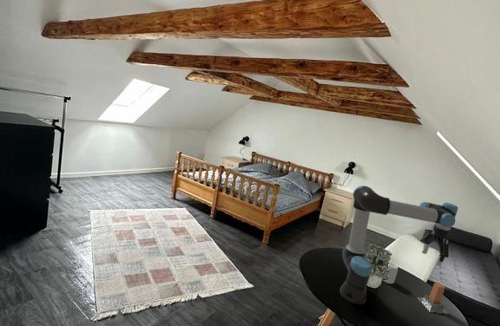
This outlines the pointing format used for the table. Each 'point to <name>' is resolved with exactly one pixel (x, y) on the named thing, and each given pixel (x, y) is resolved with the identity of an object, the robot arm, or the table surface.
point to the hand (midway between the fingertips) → (430, 259)
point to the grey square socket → (432, 305)
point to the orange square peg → (436, 293)
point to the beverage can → (392, 273)
